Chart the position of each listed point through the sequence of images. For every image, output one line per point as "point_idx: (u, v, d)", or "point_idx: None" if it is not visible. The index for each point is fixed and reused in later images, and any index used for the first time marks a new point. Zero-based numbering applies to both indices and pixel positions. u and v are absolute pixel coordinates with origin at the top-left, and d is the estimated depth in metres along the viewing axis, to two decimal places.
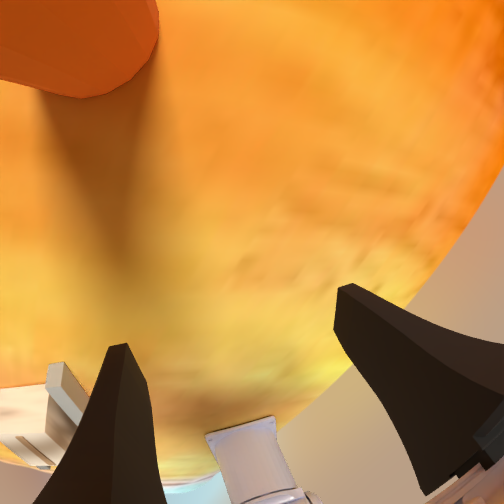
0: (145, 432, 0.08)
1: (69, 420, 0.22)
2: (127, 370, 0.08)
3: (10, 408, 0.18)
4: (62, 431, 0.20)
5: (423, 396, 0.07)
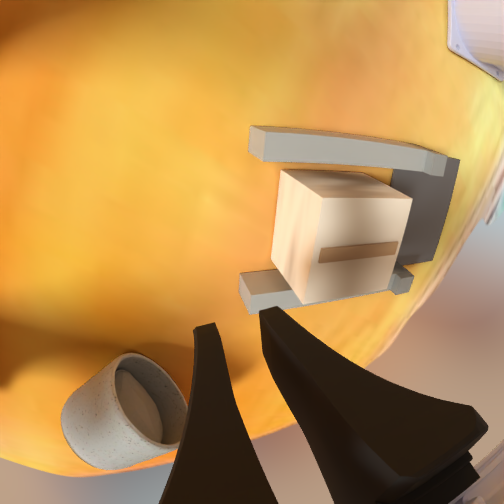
0: None
1: (346, 177, 0.18)
2: None
3: (288, 251, 0.18)
4: (349, 186, 0.16)
5: (331, 443, 0.06)
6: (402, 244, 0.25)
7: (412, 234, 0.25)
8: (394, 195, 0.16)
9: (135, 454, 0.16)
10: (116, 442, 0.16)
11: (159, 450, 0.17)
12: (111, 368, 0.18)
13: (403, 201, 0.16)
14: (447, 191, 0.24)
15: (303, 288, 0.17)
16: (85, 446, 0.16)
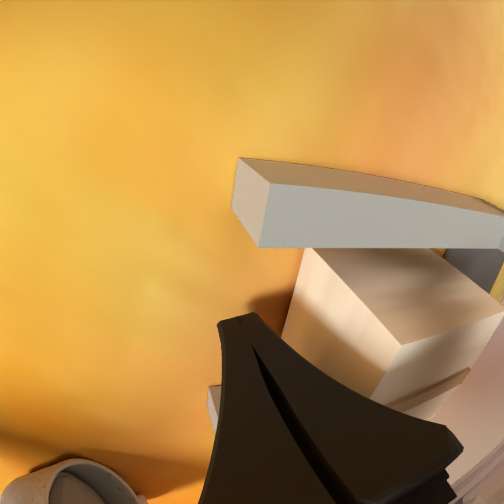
0: None
1: (411, 261, 0.11)
2: None
3: None
4: (426, 292, 0.09)
5: None
6: None
7: None
8: (486, 305, 0.08)
9: None
10: None
11: None
12: (44, 488, 0.09)
13: (497, 317, 0.08)
14: (500, 259, 0.16)
15: None
16: None
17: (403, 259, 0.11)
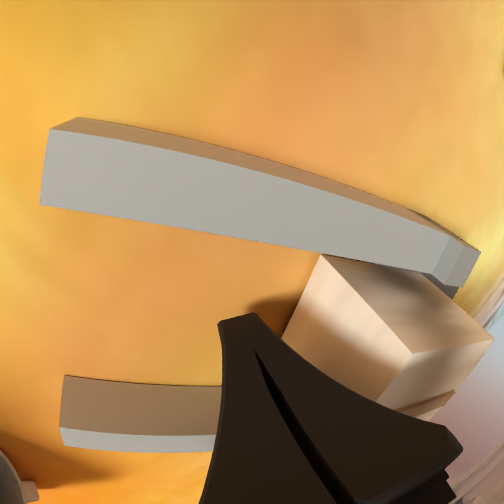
0: None
1: (411, 285, 0.11)
2: None
3: None
4: (427, 313, 0.09)
5: None
6: None
7: None
8: (476, 332, 0.09)
9: None
10: None
11: None
12: None
13: (486, 343, 0.09)
14: (447, 294, 0.15)
15: None
16: None
17: (404, 282, 0.11)
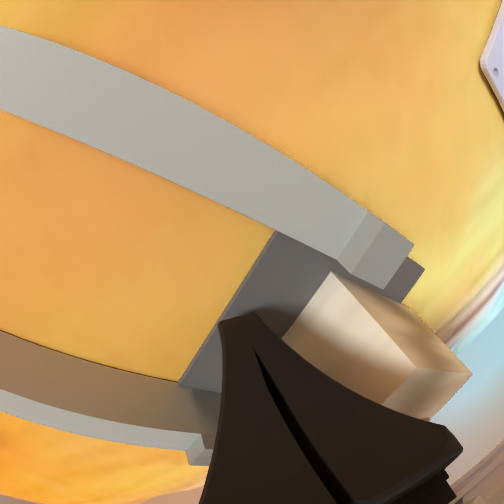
0: None
1: (403, 315, 0.12)
2: None
3: None
4: (419, 340, 0.10)
5: None
6: None
7: None
8: (458, 365, 0.10)
9: None
10: None
11: None
12: None
13: (465, 376, 0.10)
14: None
15: None
16: None
17: (398, 311, 0.12)
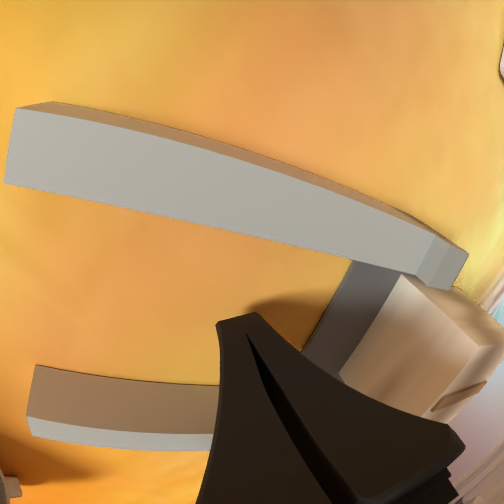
0: None
1: (458, 298, 0.13)
2: None
3: (382, 381, 0.12)
4: (475, 320, 0.11)
5: (303, 454, 0.06)
6: (338, 371, 0.15)
7: None
8: None
9: None
10: None
11: None
12: None
13: None
14: None
15: None
16: None
17: (454, 296, 0.13)
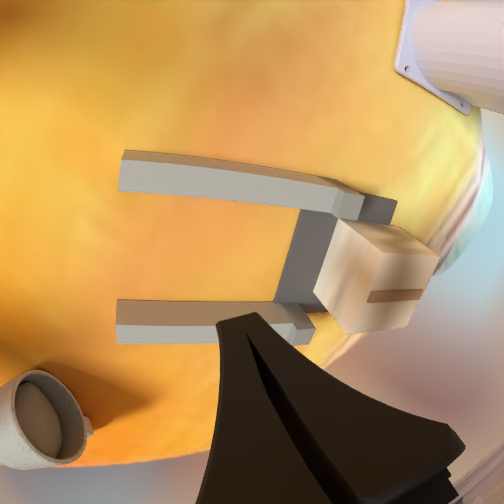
0: None
1: (388, 231, 0.21)
2: None
3: (336, 288, 0.21)
4: (395, 242, 0.19)
5: (303, 454, 0.06)
6: (312, 290, 0.24)
7: None
8: (427, 252, 0.19)
9: (29, 460, 0.14)
10: (13, 446, 0.14)
11: (48, 462, 0.15)
12: (15, 381, 0.16)
13: (433, 258, 0.19)
14: None
15: (349, 321, 0.19)
16: None
17: (384, 230, 0.21)
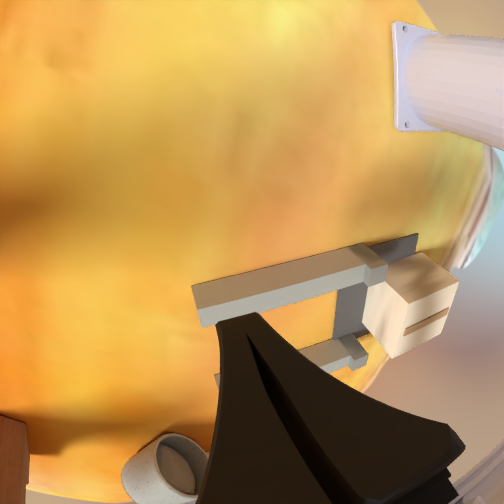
0: None
1: (414, 265, 0.24)
2: None
3: (379, 323, 0.25)
4: (419, 281, 0.23)
5: (303, 454, 0.06)
6: (361, 321, 0.28)
7: None
8: (447, 281, 0.22)
9: (177, 502, 0.23)
10: (164, 497, 0.22)
11: (193, 499, 0.23)
12: (153, 452, 0.24)
13: (453, 285, 0.22)
14: None
15: (392, 349, 0.23)
16: (143, 499, 0.23)
17: (410, 265, 0.24)
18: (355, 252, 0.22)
